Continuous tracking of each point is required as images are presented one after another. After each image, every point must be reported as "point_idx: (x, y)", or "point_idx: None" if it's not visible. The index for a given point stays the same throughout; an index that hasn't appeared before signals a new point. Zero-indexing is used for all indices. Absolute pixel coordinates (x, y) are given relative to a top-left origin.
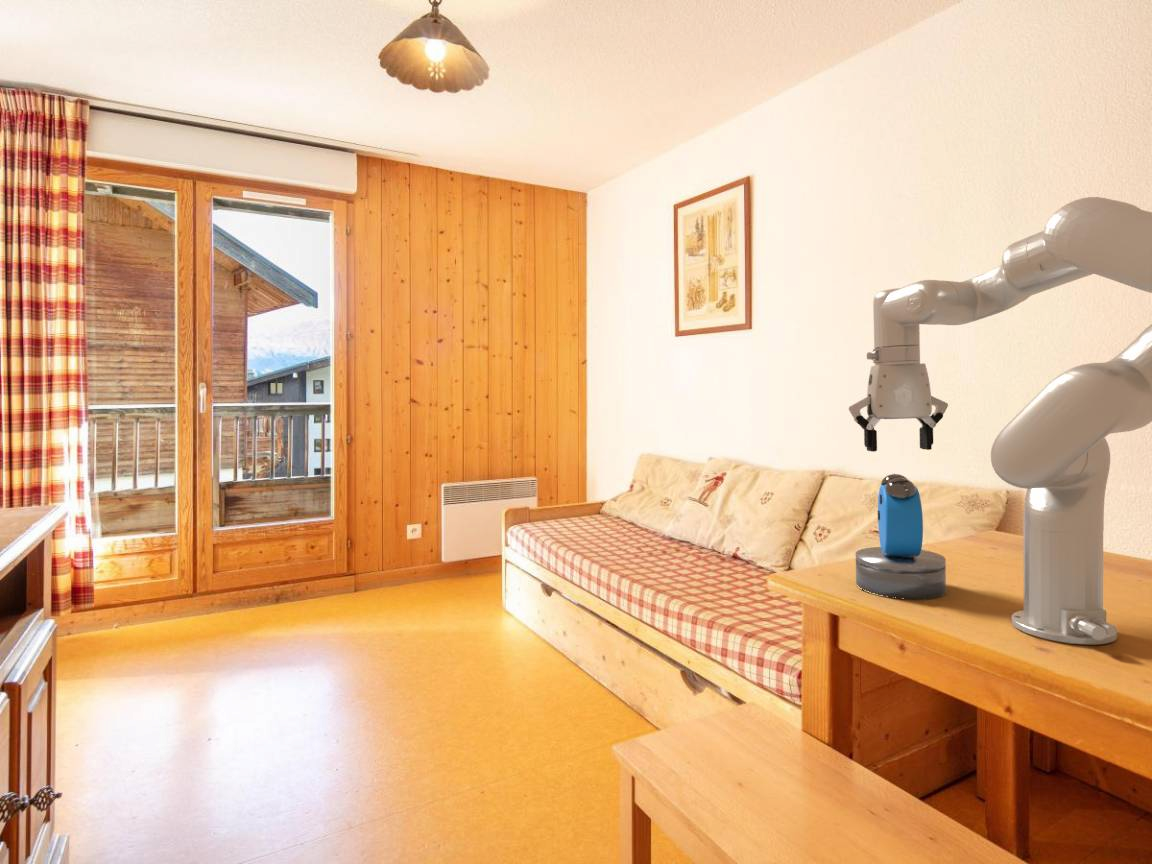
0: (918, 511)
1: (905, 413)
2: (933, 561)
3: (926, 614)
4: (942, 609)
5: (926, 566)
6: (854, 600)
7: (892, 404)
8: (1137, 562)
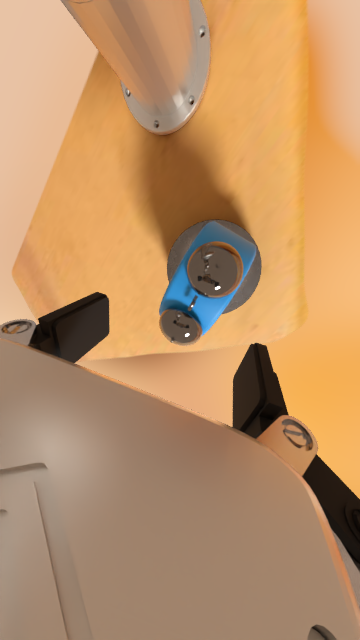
0: (210, 226)
1: (89, 398)
2: (193, 237)
3: (258, 167)
4: (228, 183)
5: (214, 220)
6: (291, 239)
7: (154, 606)
8: (14, 270)
